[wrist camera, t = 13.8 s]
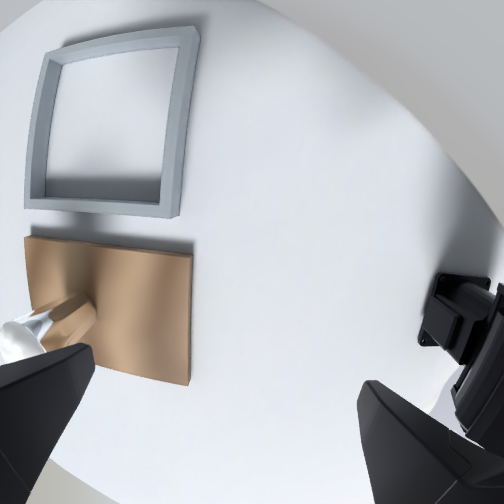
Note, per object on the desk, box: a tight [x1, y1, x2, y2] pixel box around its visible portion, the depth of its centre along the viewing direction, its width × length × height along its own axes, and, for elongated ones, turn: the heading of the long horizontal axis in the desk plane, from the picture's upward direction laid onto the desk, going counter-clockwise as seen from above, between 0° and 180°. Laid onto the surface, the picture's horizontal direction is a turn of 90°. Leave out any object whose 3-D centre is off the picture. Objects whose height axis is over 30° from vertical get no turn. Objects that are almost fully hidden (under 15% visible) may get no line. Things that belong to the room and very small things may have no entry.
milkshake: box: [0, 291, 97, 364], centre depth 17 cm, size 5×5×10 cm
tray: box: [24, 26, 201, 219], centre depth 18 cm, size 14×14×2 cm
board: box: [24, 235, 193, 386], centre depth 22 cm, size 16×11×1 cm
